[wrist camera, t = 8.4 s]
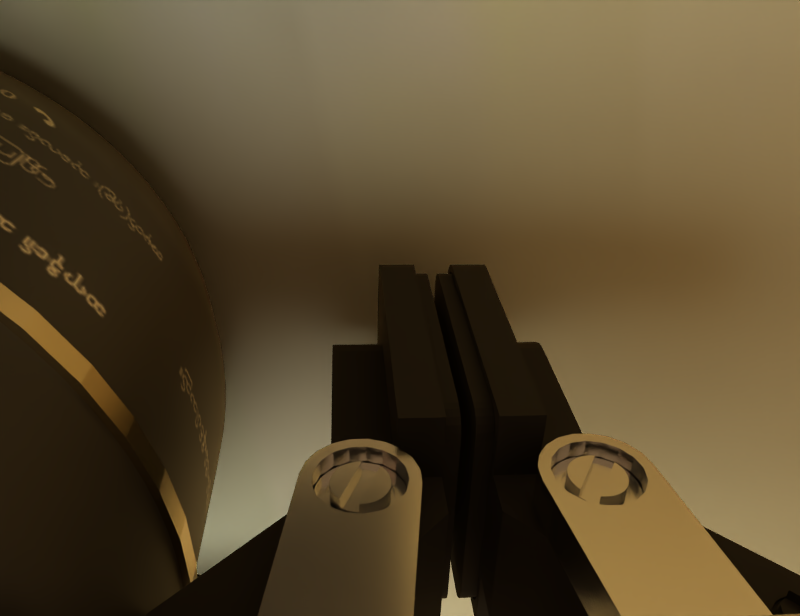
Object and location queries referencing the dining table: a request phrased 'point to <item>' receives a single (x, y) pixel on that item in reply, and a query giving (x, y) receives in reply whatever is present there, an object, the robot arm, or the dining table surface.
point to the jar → (97, 375)
